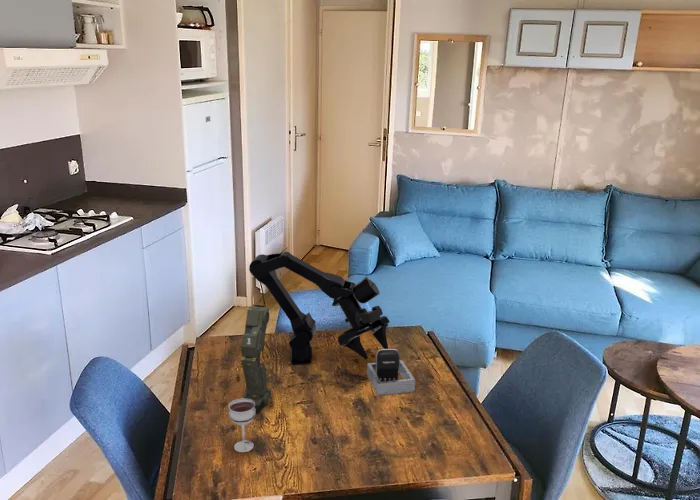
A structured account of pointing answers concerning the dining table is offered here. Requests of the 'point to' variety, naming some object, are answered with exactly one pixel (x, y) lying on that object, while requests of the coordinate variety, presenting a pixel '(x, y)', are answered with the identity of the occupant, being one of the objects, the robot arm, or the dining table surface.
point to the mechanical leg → (255, 356)
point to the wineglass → (242, 419)
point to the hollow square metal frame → (391, 386)
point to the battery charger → (387, 364)
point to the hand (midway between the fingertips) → (377, 354)
